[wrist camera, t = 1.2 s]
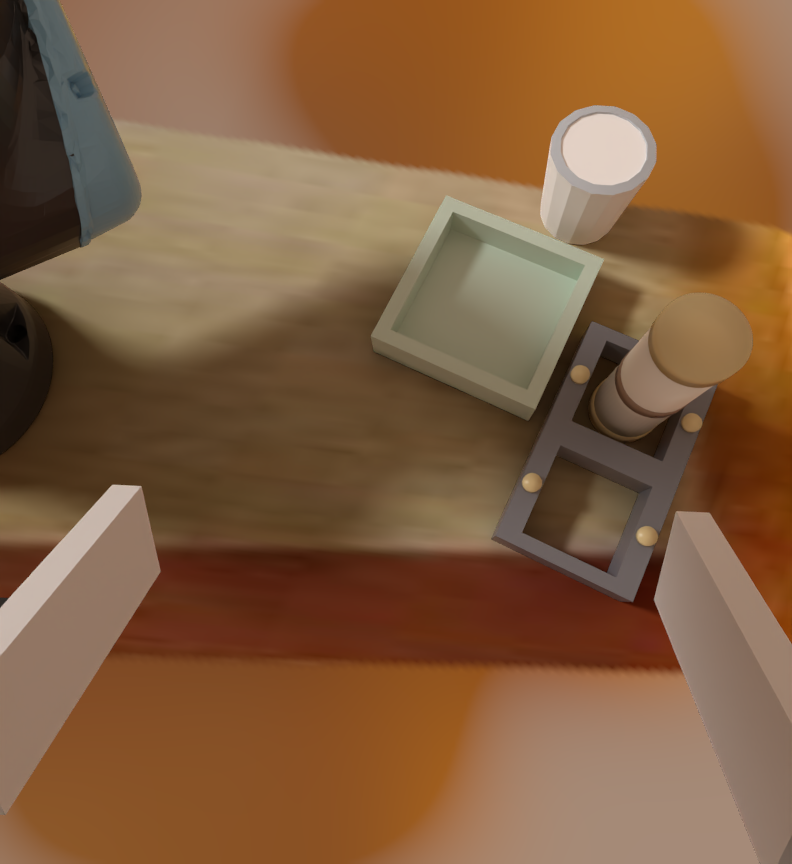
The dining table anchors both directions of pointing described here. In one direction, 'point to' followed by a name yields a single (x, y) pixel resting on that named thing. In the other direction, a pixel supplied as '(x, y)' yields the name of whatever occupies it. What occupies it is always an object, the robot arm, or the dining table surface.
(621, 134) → the white cylinder
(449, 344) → the parts tray
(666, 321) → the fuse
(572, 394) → the block
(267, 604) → the dining table surface
